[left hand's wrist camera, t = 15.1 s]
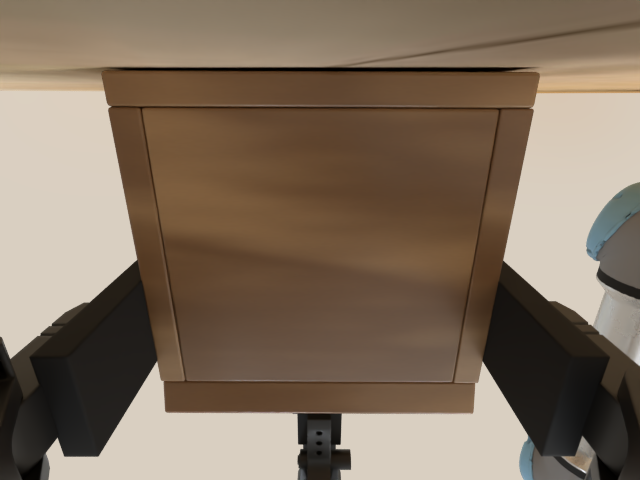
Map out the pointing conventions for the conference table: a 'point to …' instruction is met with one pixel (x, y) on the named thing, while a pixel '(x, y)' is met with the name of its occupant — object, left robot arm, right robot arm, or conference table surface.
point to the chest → (320, 218)
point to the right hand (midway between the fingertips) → (319, 345)
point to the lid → (318, 397)
